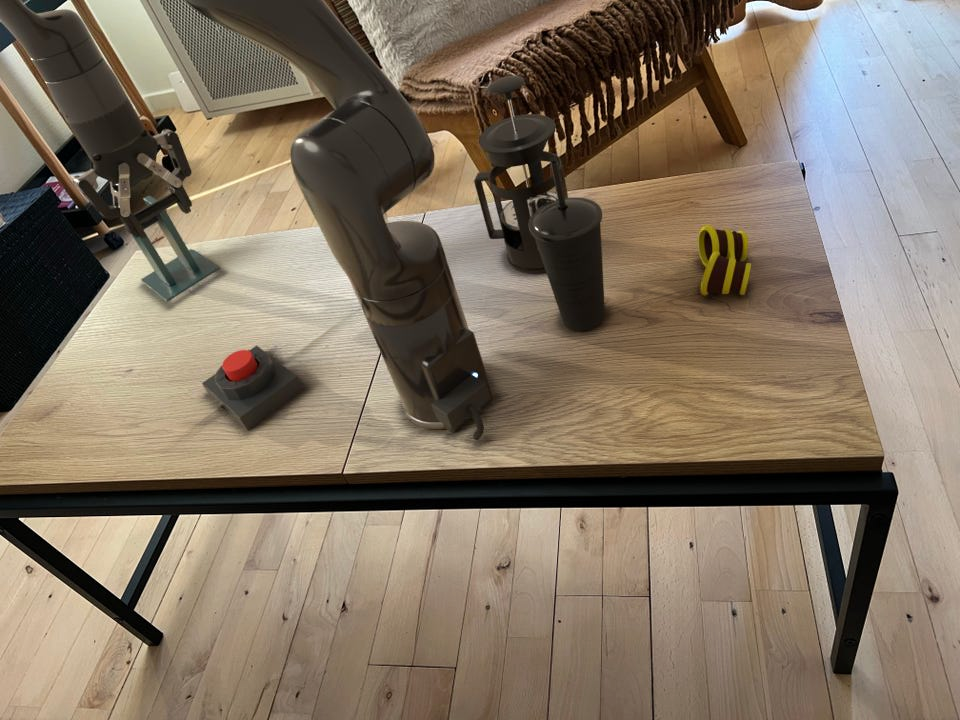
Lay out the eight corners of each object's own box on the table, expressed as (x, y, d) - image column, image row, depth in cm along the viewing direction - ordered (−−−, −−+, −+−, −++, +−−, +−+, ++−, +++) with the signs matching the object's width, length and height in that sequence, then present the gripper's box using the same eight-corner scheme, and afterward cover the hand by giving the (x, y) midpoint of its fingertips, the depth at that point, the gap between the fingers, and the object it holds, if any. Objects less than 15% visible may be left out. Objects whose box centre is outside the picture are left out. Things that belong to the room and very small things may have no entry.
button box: (304, 389, 91) (291, 364, 89) (247, 431, 88) (232, 406, 86) (263, 358, 98) (250, 334, 95) (209, 395, 95) (194, 372, 92)
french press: (589, 228, 102) (559, 56, 87) (578, 272, 96) (544, 94, 81) (503, 233, 106) (461, 70, 91) (487, 276, 100) (439, 107, 85)
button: (263, 367, 90) (257, 356, 89) (237, 386, 89) (230, 375, 88) (249, 356, 93) (242, 345, 92) (223, 374, 91) (216, 363, 90)
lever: (182, 204, 103) (170, 188, 102) (141, 227, 101) (130, 211, 100) (167, 216, 113) (157, 201, 113) (131, 237, 111) (120, 222, 110)
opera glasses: (747, 307, 85) (756, 270, 82) (697, 303, 86) (704, 267, 82) (741, 255, 92) (749, 219, 89) (695, 252, 93) (701, 216, 89)
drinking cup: (584, 349, 85) (552, 191, 72) (537, 323, 90) (500, 171, 77) (632, 312, 88) (609, 153, 75) (584, 289, 93) (555, 136, 80)
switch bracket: (222, 273, 116) (181, 199, 108) (170, 306, 113) (123, 233, 104) (194, 254, 123) (153, 183, 115) (144, 285, 119) (98, 214, 111)
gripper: (48, 139, 87) (127, 260, 98) (160, 83, 93) (223, 203, 104) (29, 128, 92) (106, 244, 103) (137, 75, 98) (199, 191, 109)
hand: (164, 223), depth 104 cm, fingers closed on lever, 6 cm apart
